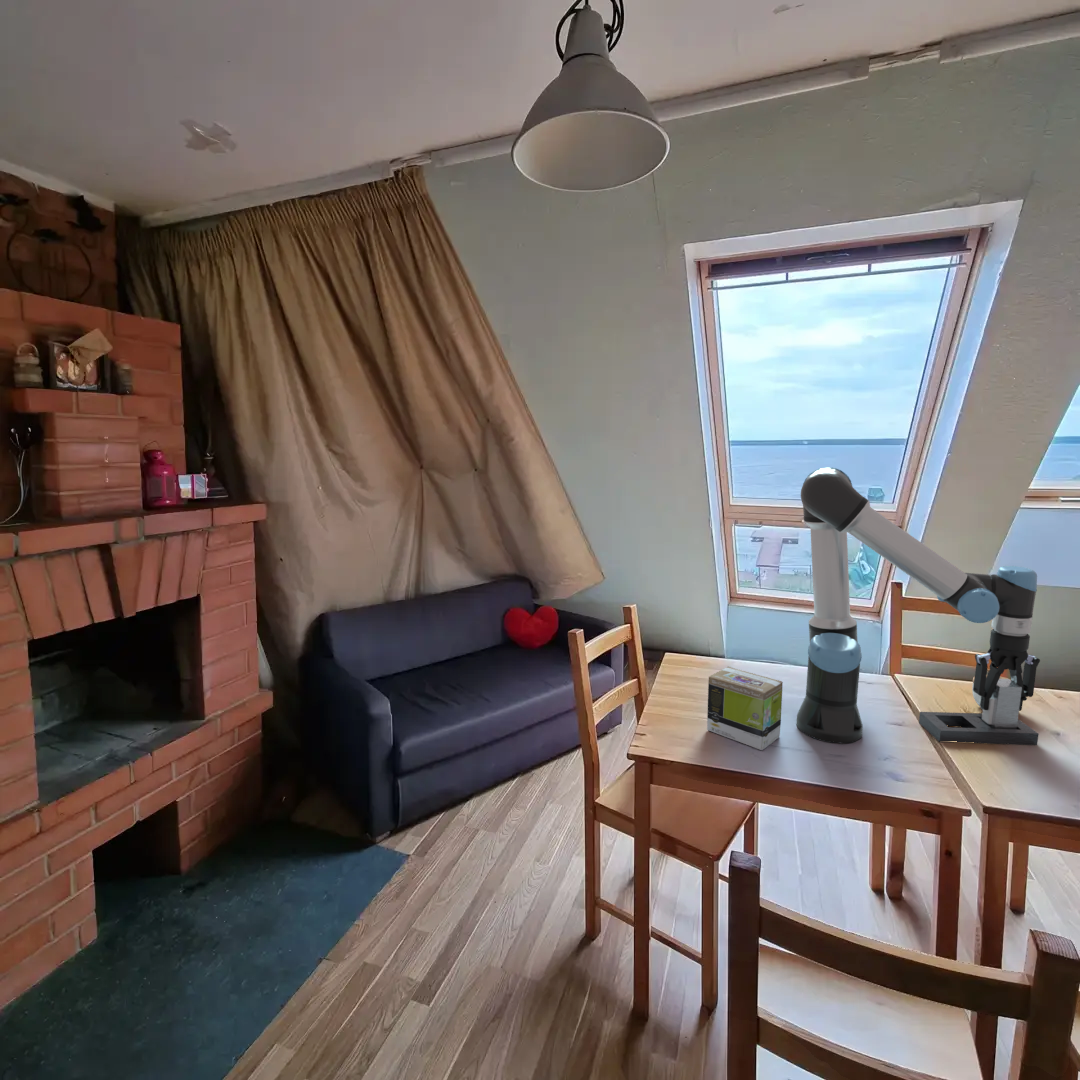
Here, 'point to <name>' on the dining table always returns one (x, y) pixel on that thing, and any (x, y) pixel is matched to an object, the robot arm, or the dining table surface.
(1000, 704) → the solid steel block
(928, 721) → the dark grey flat frame
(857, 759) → the dining table surface
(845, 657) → the robot arm
